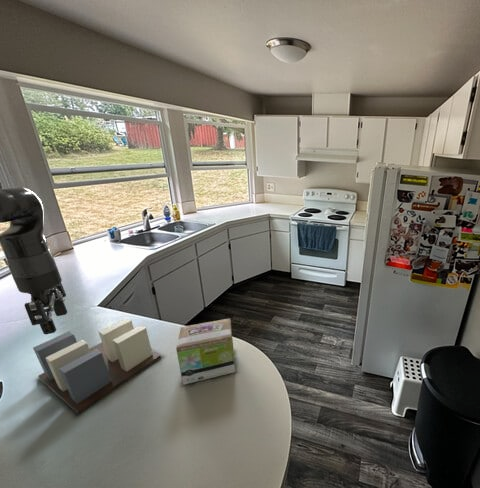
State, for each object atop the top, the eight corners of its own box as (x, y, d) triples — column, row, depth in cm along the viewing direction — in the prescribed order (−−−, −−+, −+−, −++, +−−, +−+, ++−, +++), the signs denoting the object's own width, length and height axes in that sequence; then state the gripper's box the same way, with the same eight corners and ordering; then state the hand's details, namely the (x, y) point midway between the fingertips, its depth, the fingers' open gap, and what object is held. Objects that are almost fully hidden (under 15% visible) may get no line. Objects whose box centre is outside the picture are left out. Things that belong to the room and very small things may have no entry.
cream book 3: (126, 371, 78) (117, 343, 74) (121, 368, 79) (112, 340, 75) (152, 354, 84) (146, 328, 81) (147, 351, 86) (140, 325, 82)
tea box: (183, 387, 75) (174, 348, 70) (186, 362, 83) (179, 325, 78) (235, 373, 80) (231, 335, 75) (234, 351, 89) (230, 316, 84)
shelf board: (78, 414, 66) (77, 411, 66) (39, 378, 76) (37, 375, 75) (161, 358, 85) (160, 355, 84) (121, 335, 94) (120, 332, 94)
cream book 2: (112, 362, 81) (103, 334, 77) (107, 358, 82) (98, 331, 78) (138, 346, 88) (131, 320, 84) (133, 343, 89) (126, 317, 85)
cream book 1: (63, 391, 71) (50, 361, 67) (58, 387, 72) (45, 357, 68) (97, 371, 78) (87, 342, 74) (92, 367, 79) (82, 339, 75)
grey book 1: (50, 380, 74) (37, 351, 70) (46, 376, 75) (32, 347, 71) (84, 361, 81) (73, 334, 77) (79, 358, 82) (69, 331, 78)
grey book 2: (77, 404, 68) (64, 373, 64) (71, 399, 69) (58, 368, 65) (111, 381, 74) (101, 352, 71) (106, 377, 76) (96, 348, 72)
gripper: (26, 261, 66) (48, 313, 72) (-4, 285, 55) (24, 344, 60) (65, 257, 70) (82, 306, 75) (44, 278, 58) (66, 334, 64)
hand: (56, 323), depth 68 cm, fingers open, 8 cm apart
